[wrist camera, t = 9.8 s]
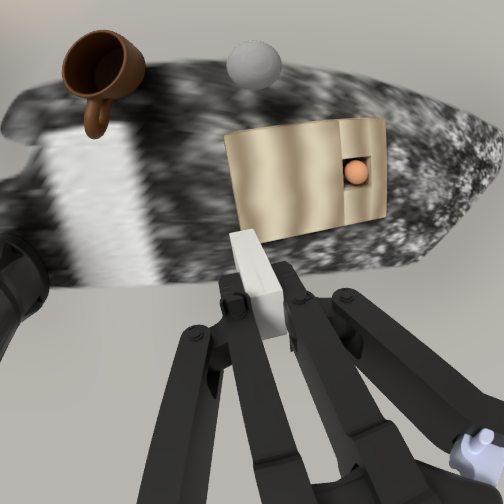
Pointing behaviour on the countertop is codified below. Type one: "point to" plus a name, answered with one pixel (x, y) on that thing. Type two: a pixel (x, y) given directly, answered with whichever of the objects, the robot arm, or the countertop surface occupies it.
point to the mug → (102, 75)
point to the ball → (356, 172)
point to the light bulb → (254, 65)
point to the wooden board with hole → (306, 176)
